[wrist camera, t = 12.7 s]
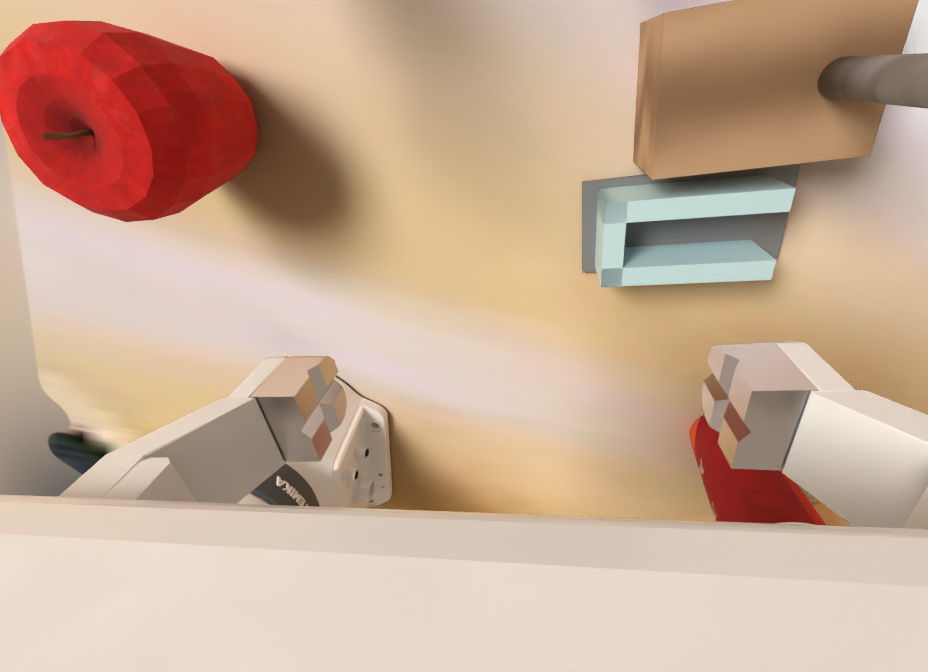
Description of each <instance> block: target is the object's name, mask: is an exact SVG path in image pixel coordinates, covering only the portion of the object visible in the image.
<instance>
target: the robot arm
mask: <svg viewBox="0 0 928 672" xmlns="http://www.w3.org/2000/svg"><path fill="white" fill-rule="evenodd" d="M707 364H708V365H709V367H710V369H711V370H712V372H713V373H712V374H711V375H710V376H709V377H707V378H706V379H705V380H704V381H703V388H702V394H701V395H702V408H703V412H704V415H705V418H706V420H707V422H708V424H709V426H710V427H711V428H713V429H714V430H716V431H718V432H719V433H720V435H719V439H718V444H719V446H720V448H721V450H722V452H723V454H724V455H725V457H726V459H727V461H728V463H729V465H730V467H731V469H756V470H780V471H782V473H783V474H785V475H786V476H787V477H788V478H790V479H791V480H792V481H794V482H795V483H796V484H798V485H799V486H800V487H802V488H803V489H804V490H806V491H807V492H808V493H810V494H811V495H812V496H814V497H815V498H816V499H818V500H819V501H820V502H821V503H823V504H824V505H826V506H827V507H828V508H829V509H831V510H832V511H833V512H835V513H836V514H837V515H839V516H840V517H841V518H843V519H844V520H845V521H847V522H848V523H849V524H851V525H852V526H853V527H850V526H825V525H798V524H771V523H744V522H717V521H690V520H663V519H636V518H609V517H583V516H557V515H531V514H505V513H478V512H452V511H426V510H399V509H371V508H366V507H372V506H376V505H380V504H382V503H385V502H387V501H388V500H389V499H390V497H391V495H392V474H391V458H390V442H389V426H388V414H387V411H386V410H385V409H384V408H383V407H382V406H380V405H378V404H376V403H374V402H372V401H370V400H367V399H365V398H363V397H361V396H360V395H358V394H357V393H356V392H354V391H353V390H352V389H351V388H350V387H349V386H347V385H346V384H345V383H344V382H342V381H341V380H339V379H338V378H336V375H337V373H338V369H337V367H336V364H335V361H334V359H332V358H331V357H329V356H291V357H288V356H282V357H270V358H265V359H264V360H263V361H262V363H261V364H260V365H259V366H258V367H257V368H256V369H255V370H254V371H253V372H252V373H251V374H250V375H249V376H248V377H247V378H246V379H245V380H244V381H243V382H242V383H241V384H240V385H239V386H238V387H237V388H236V389H235V390H234V391H233V393H232V394H231V395H230V396H229V397H228V398H220V399H218V400H216V401H214V402H212V403H210V404H208V405H206V406H204V407H202V408H200V409H198V410H196V411H194V412H192V413H190V414H188V415H186V416H184V417H182V418H180V419H178V420H176V421H174V422H171V423H169V424H167V425H165V426H163V427H161V428H159V429H157V430H155V431H153V432H151V433H149V434H147V435H145V436H143V437H141V438H139V439H137V440H135V441H133V442H131V443H129V444H127V445H125V446H123V447H121V448H119V449H117V450H115V451H113V452H111V453H109V454H106V455H105V456H104V457H103V458H102V459H100V460H99V461H98V462H97V463H96V464H95V465H94V466H93V467H91V468H90V469H89V470H88V471H87V472H86V473H85V474H83V475H82V476H81V477H80V478H79V479H78V480H77V481H76V482H74V483H73V484H72V485H71V486H70V487H69V488H68V489H66V490H65V491H64V492H63V493H62V494H61V495H60V496H58V497H48V496H21V495H0V672H928V415H926V414H924V413H921V412H919V411H916V410H914V409H911V408H909V407H906V406H904V405H901V404H899V403H896V402H894V401H891V400H889V399H886V398H884V397H881V396H879V395H876V394H874V393H871V392H869V391H866V390H855V389H854V388H853V387H852V386H851V385H850V384H848V383H847V382H846V381H845V380H844V379H843V378H842V377H841V376H840V375H839V374H838V373H837V372H836V371H835V370H834V369H833V368H832V367H831V366H830V365H829V364H827V363H826V362H825V361H824V360H823V359H822V358H821V357H820V356H819V355H818V354H817V353H816V352H815V351H814V350H813V349H812V348H811V347H810V346H809V345H808V344H806V343H805V342H802V341H799V340H797V341H781V342H767V343H748V344H729V345H713V346H712V348H711V350H710V352H709V356H708V361H707ZM376 423H377V424H376Z"/></svg>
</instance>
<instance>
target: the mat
mask: <svg viewBox="0 0 928 672" xmlns="http://www.w3.org/2000/svg"><path fill="white" fill-rule="evenodd" d="M799 167H800V164H791V165H782V166H773V167H764V168H755V169H746V170H737V171H728V172H719V173H710V174H701V175H691V176H682V177H673V178H664V179H655V180H652V179H651V178H650V177H649V176H648V175H647V174H645V175H636V176H628V177H619V178H610V179H601V180H592V181H583V182H582V271H583V272H596V269H595V247H596V222H597V198H598V189H599V188H610V187H622V186H634V185H646V184H658V183H670V182H681V181H693V180H705V179H717V178H729V177H741V176H753V175H764V174H767V175H769V176H771V177H773V178H775V179H777V180H780V181H782V182H784V183H786V184H788V185H790V186H792V187H795V184H796V179H797V175H798V171H799ZM787 217H788V212H775V213H761V214H746V215H732V216H717V217H703V218H689V219H674V220H660V221H645V222H631V223H626V232H625V245H624V247H637V246H654V245H671V244H688V243H705V242H721V241H738V240H752V241H753V242H754V243H756V244H757V245H758V246H759V247H761V248H762V249H763V250H764V251H766V252H767V253H768V254H769V255H771V256H772V257H773V258H778V254H779V250H780V245H781V241H782V237H783V233H784V229H785V225H786V221H787Z"/></svg>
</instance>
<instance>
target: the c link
mask: <svg viewBox="0 0 928 672" xmlns="http://www.w3.org/2000/svg"><path fill="white" fill-rule="evenodd" d="M795 190H796V188H795V187H792V186H790V185H788V184H786V183H784V182H782V181H780V180H777V179H775V178H773V177H771V176H769V175H767V174H764V175H753V176H741V177H729V178H717V179H705V180H693V181H681V182H670V183H658V184H646V185H634V186H622V187H610V188H599V189H598V198H597V222H596V247H595V269H596V272H597V275H598V279H599V282H600V286H601V287H618V286H641V285H664V284H687V283H710V282H733V281H756V280H771V279H772V275H773V271H774V268H775V264H776V259H774V258H773V257H772V256H771V255H769V254H768V253H767V252H766V251H764V250H763V249H762V248H761V247H759V246H758V245H757V244H756V243H754V242H753V241H752V240H738V241H721V242H705V243H688V244H671V245H654V246H637V247H624V245H625V232H626V223H631V222H645V221H660V220H674V219H689V218H703V217H717V216H732V215H746V214H761V213H775V212H789V211H790V209H791V205H792V201H793V198H794V194H795Z"/></svg>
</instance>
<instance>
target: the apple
mask: <svg viewBox="0 0 928 672" xmlns="http://www.w3.org/2000/svg"><path fill="white" fill-rule="evenodd" d="M0 116H1V121H2V123H3V125H4V127H5V129H6V132H7V134H8V136H9V138H10V140H11V142H12V144H13V146H14V148H15V150H16V152H17V154H18V156H19V157H20V158H21V159H22V160H23V162H24V163H25V164H26V165H27V166H28V167H29V168H30V170H31V171H32V172H33V173H34V174H35V175H36V176H37V178H38V179H39V180H40V181H41V182H42V183H43V184H44V185H46V186H47V187H49V188H51V189H52V190H54V191H56V192H58V193H59V194H61V195H63V196H65V197H66V198H68V199H70V200H71V201H73V202H75V203H77V204H79V205H80V206H82V207H84V208H86V209H88V210H90V211H92V212H94V213H97V214H101V215H104V216H108V217H111V218H115V219H118V220H122V221H125V222H130V221H143V220H155V219H158V218H162V217H165V216H169V215H173V214H176V213H180V212H181V211H183V210H184V209H186V208H187V207H189V206H190V205H192V204H193V203H195V202H196V201H198V200H199V199H201V198H202V197H204V196H205V195H207V194H209V193H210V192H212V191H213V190H215V189H217V188H218V187H220V186H221V185H223V184H225V183H226V182H227V181H229V180H230V179H231V178H233V177H234V176H235V175H237V174H238V173H239V172H241V171H242V170H243V169H245V168H246V167H247V165H248V164H249V162H250V161H251V159H252V158H253V156H254V155H255V153H256V150H257V138H258V126H257V122H256V118H255V114H254V111H253V107H252V103H251V101H250V100H249V98H248V97H247V95H246V94H245V92H244V91H243V89H242V88H241V86H240V85H239V83H238V82H237V81H236V79H235V78H234V77H233V76H232V75H231V74H230V73H229V72H228V71H227V70H226V69H225V68H224V67H223V66H222V65H221V64H219V63H218V62H217V61H216V60H215V59H214V58H213V57H210V56H207V55H204V54H202V53H199V52H196V51H193V50H190V49H187V48H185V47H182V46H179V45H176V44H173V43H170V42H168V41H165V40H162V39H159V38H156V37H153V36H151V35H147V34H144V33H140V32H137V31H133V30H130V29H126V28H123V27H119V26H116V25H112V24H108V23H105V22H101V21H58V22H48V23H39V24H32V25H31V26H30V27H29V28H28V29H27V30H25V31H24V32H23V33H22V34H21V35H20V36H18V37H17V38H16V39H15V40H14V41H12V42H11V43H10V44H9V45H8V47H7V48H6V49H5V50H4V52H3V53H2V54H1V55H0Z"/></svg>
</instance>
